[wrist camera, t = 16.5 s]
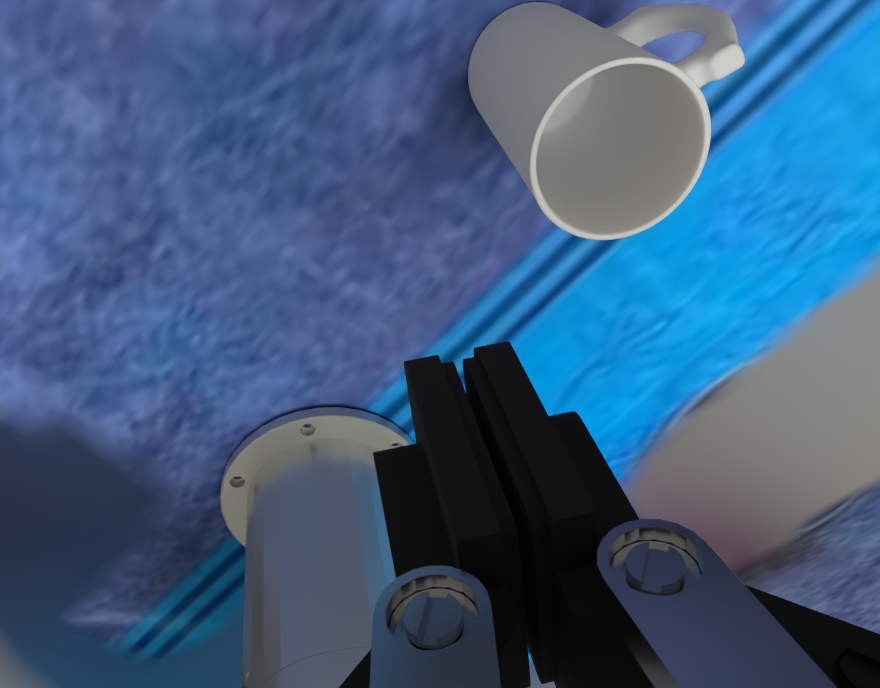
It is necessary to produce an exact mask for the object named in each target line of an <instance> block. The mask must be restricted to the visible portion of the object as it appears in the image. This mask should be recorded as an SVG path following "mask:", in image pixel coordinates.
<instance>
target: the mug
mask: <svg viewBox="0 0 880 688" xmlns="http://www.w3.org/2000/svg"><path fill="white" fill-rule="evenodd" d="M678 32H695V33H700V34H702V35H704V36H706V37H705V40H704V42H703V44H702V45H701V47H700V48H698V49H697V50H696V51H695V52H694V53H692V54H691V55H689V56H688V57H686V58H684V59H683V60H680V61H678V62H676V63H668V62H665V61H664V60H662V59H660V58H659V57H657V56H655V55H654V54H652V53H650V52H648V51H646V50H644V49H642V48H640V47H641V46H643V45H645V44H646V43H648V42H650V41H653V40H655V39H657V38H660V37H663V36H666V35H669V34H673V33H678ZM744 62H745V57H744V54H743V51H742V49H741V48H740V46H739V45H738V37H737V33H736V29H735V26H734V24H733V22H732V20H731V19H730V17H729V16H728V15H727V14H726V13H725V12H723V11H721V10H719V9H717V8H714V7H710V6H705V5H695V4H670V5H645V6H641V7H639V8H637V9H636V10H634V11H633V12H632V13H630V14H629V15H628V16H626V17H625V18H623V19H622V20H620V21H619V22H617V23H615V24H614V25H612V26H610V27H607V28H602V27H600V26H598V25H596V24H594V23H593V22H591V21H589V20H587V19H585V18H583V17H582V16H580V15H578V14H576V13H573V12H571V11H569V10H567V9H565V8H562V7H560V6H558V5H554V4H551V3H546V2H530V3H524V4H520V5H517V6H514V7H512V8H510V9H508V10H506V11H504V12H503V13H501V14H500V15H498V16H497V17H496V18H495V19H493V20H492V21H491V22H490V23H489V24H488V25H487V27H486V28H485V29H484V30H483V32H482V33H481V34H480V36H479V38H478V39H477V41H476V43H475V46H474V48H473V50H472V53H471V57H470V61H469V68H468V83H469V89H470V94H471V97H472V99H473V102H474V104H475V106H476V108H477V110H478V111H479V113H480V114H481V116H482V117H483V119H484V120H485V122H486V124H487V125H488V127H489V129H490V130H491V131H492V133H493V134H494V136H495V137H496V139H497V140H498V142H499V143H500V145H501V146H502V148H503V149H504V151H505V152H506V154H507V156H508V157H509V159H510V160H511V162H512V163H513V165H514V166H515V168H516V169H517V171H518V172H519V174H520V176H521V177H522V179H523V180H524V182H525V183H526V185H527V186H528V188H529V189H530V191H531V192H532V194H533V195H534V197H535V198H536V200H537V202H538V204H539V206H540V208H541V209H542V211H543V212H544V213H545V215H546V216H547V217H548V218H549V219H550V220H551V221H552V222H553V223H554V224H556V225H557V226H558V227H560V228H561V229H563V230H565V231H567V232H569V233H571V234H573V235H576V236H579V237H582V238H587V239H593V240H611V239H619V238H623V237H627V236H631V235H634V234H636V233H639V232H641V231H644V230H646V229H648V228H650V227H651V226H653V225H655V224H656V223H658V222H660V221H661V220H662V219H664V218H665V217H666V216H668V215H669V214H670V213H671V212H672V211H673V210H674V209H676V208H677V207H678V206H679V205H680V203H681V202H682V201H683V200H684V199H685V198H686V196H687V195H688V194H689V192H690V191H691V190H692V188H693V187H694V185H695V183H696V182H697V180H698V178H699V176H700V174H701V172H702V170H703V167H704V164H705V162H706V159H707V155H708V151H709V146H710V138H711V121H710V114H709V109H708V106H707V103H706V100H705V97H704V95H703V93H702V92H701V90H700V89H699V88H701V87H702V86H703V85H705V84H707V83H708V82H710V81H714V80H719V79H722V78H724V77H725V76H727V75H729V74H730V73H732V72H733V71H735V70H737V69H739V68H740V67H742V66H743V64H744Z"/></svg>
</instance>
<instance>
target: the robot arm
mask: <svg viewBox="0 0 880 688" xmlns="http://www.w3.org/2000/svg"><path fill="white" fill-rule="evenodd" d="M404 368H405V375H406V381H407V387H408V393H409V400H410V406H411V412H412V419H413V425H414V431H415V437H416V444H414V443H413V442H412V440H411V439H410V438H409V437H408V435H407V434H406V433H404V432H403V431H402V430H401V429H399V428H398V427H397V426H396V425H395V424H393V423H391V422H389V421H387V420H385V419H383V418H382V417H380V416H377V415H374V414H371V413H368V412H365V411H362V410H356V409H349V408H342V407H322V408H314V409H308V410H302V411H297V412H294V413H291V414H288V415H285V416H282V417H279V418H277V419H275V420H273V421H271V422H269V423H268V424H266V425H264V426H262V427H260V428H259V429H258V430H256V431H255V432H254V433H252V434H251V435H250V436H248V437H247V438H246V439H245V440H244V441H243V442H242V443H241V444H240V446H239V447H238V448H237V449H236V450H235V451H234V453H233V454H232V456H231V458H230V460H229V461H228V463H227V465H226V467H225V470H224V474H223V477H222V480H221V493H220V502H221V512H222V515H223V518H224V520H225V523H226V526H227V527H228V529H229V530H230V532H231V533H232V535H233V536H234V537H235V539H236V540H237V541H238V542H240V543H241V544H242V545H243V546H244V547H245V586H244V624H243V663H242V688H528V687H530V671H529V659H528V648H529V651H530V654H531V657H532V660H533V663H534V666H535V669H536V672H537V675H538V677H539V680H540V682H541V683H542V684H544V683H549V682H553V681H554V683H555V685H556V688H880V634H877V633H875V632H872V631H869V630H866V629H864V628H861V627H858V626H855V625H853V624H850V623H847V622H845V621H842V620H839V619H836V618H834V617H831V616H828V615H826V614H823V613H820V612H817V611H815V610H812V609H809V608H806V607H804V606H801V605H798V604H796V603H793V602H790V601H787V600H785V599H782V598H779V597H777V596H774V595H771V594H768V593H766V592H763V591H760V590H757V589H755V588H752V587H749V586H747V585H744V584H743V582H742V581H741V580H740V579H739V578H738V577H737V576H736V575H735V574H734V572H733V571H732V570H731V569H730V568H729V567H728V566H727V565H726V564H725V563H724V561H723V560H722V559H721V558H720V557H719V556H718V555H717V554H716V552H715V551H714V550H713V549H712V548H711V547H710V546H709V545H708V544H707V543H706V541H704V540H703V539H702V538H701V537H700V536H698V535H697V534H696V533H695V532H694V531H692V530H690V529H688V528H686V527H684V526H682V525H680V524H678V523H674V522H670V521H666V520H661V519H639V518H638V516H637V514H636V512H635V511H634V509H633V507H632V506H631V504H630V502H629V500H628V499H627V497H626V495H625V494H624V492H623V490H622V488H621V487H620V485H619V483H618V481H617V480H616V478H615V476H614V475H613V473H612V471H611V469H610V468H609V466H608V464H607V462H606V461H605V459H604V457H603V456H602V454H601V452H600V450H599V449H598V447H597V445H596V443H595V442H594V440H593V438H592V437H591V435H590V433H589V431H588V430H587V428H586V426H585V424H584V423H583V421H582V419H581V418H580V416H579V415H578V414H577V413H576V412H574V411H572V412H567V413H562V414H557V415H552V416H548V414H547V413H546V411H545V409H544V407H543V405H542V403H541V401H540V399H539V397H538V395H537V393H536V391H535V390H534V388H533V386H532V384H531V382H530V380H529V378H528V376H527V374H526V372H525V370H524V368H523V367H522V365H521V363H520V361H519V359H518V357H517V355H516V353H515V351H514V349H513V347H512V346H511V344H510V342H508V341H507V342H502V343H497V344H492V345H487V346H481V347H476V348H474V357H472V358H467V359H463V371H464V380H465V389H466V393H465V390H464V388H463V385H462V382H461V380H460V377H459V375H458V372H457V369H456V367H455V364H454V362H453V361H452V362H447V363H442V364H441V361H440V358H439V356H438V355H435V356H430V357H425V358H420V359H415V360H409V361H404ZM527 645H528V646H527Z"/></svg>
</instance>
